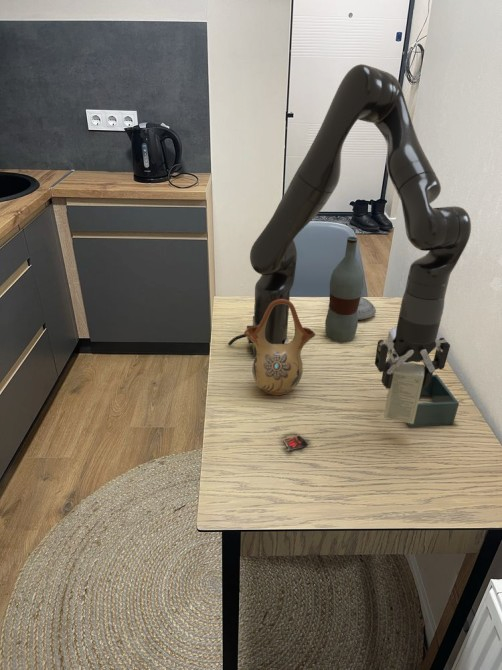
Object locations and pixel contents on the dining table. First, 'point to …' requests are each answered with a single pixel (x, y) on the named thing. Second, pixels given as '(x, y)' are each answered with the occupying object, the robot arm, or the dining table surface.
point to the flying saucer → (365, 309)
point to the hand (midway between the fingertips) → (404, 385)
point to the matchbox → (294, 442)
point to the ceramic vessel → (278, 355)
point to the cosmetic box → (404, 392)
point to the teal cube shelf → (436, 405)
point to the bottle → (344, 296)
